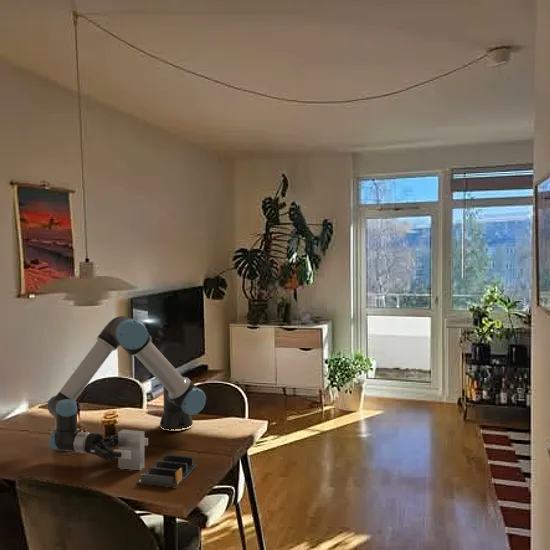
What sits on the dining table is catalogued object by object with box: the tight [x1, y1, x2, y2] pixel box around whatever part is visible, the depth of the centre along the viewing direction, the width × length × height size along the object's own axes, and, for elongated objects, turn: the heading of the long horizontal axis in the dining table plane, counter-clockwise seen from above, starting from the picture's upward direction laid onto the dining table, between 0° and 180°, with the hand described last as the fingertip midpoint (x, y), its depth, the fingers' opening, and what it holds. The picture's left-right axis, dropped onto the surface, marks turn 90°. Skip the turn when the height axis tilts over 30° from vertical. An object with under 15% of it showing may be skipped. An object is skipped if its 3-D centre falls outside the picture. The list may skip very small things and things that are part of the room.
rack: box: [136, 453, 198, 488], centre depth 193 cm, size 19×15×5 cm
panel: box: [117, 429, 145, 471], centre depth 199 cm, size 4×9×14 cm, turn 77°
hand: (139, 448), depth 198 cm, fingers open, 13 cm apart
